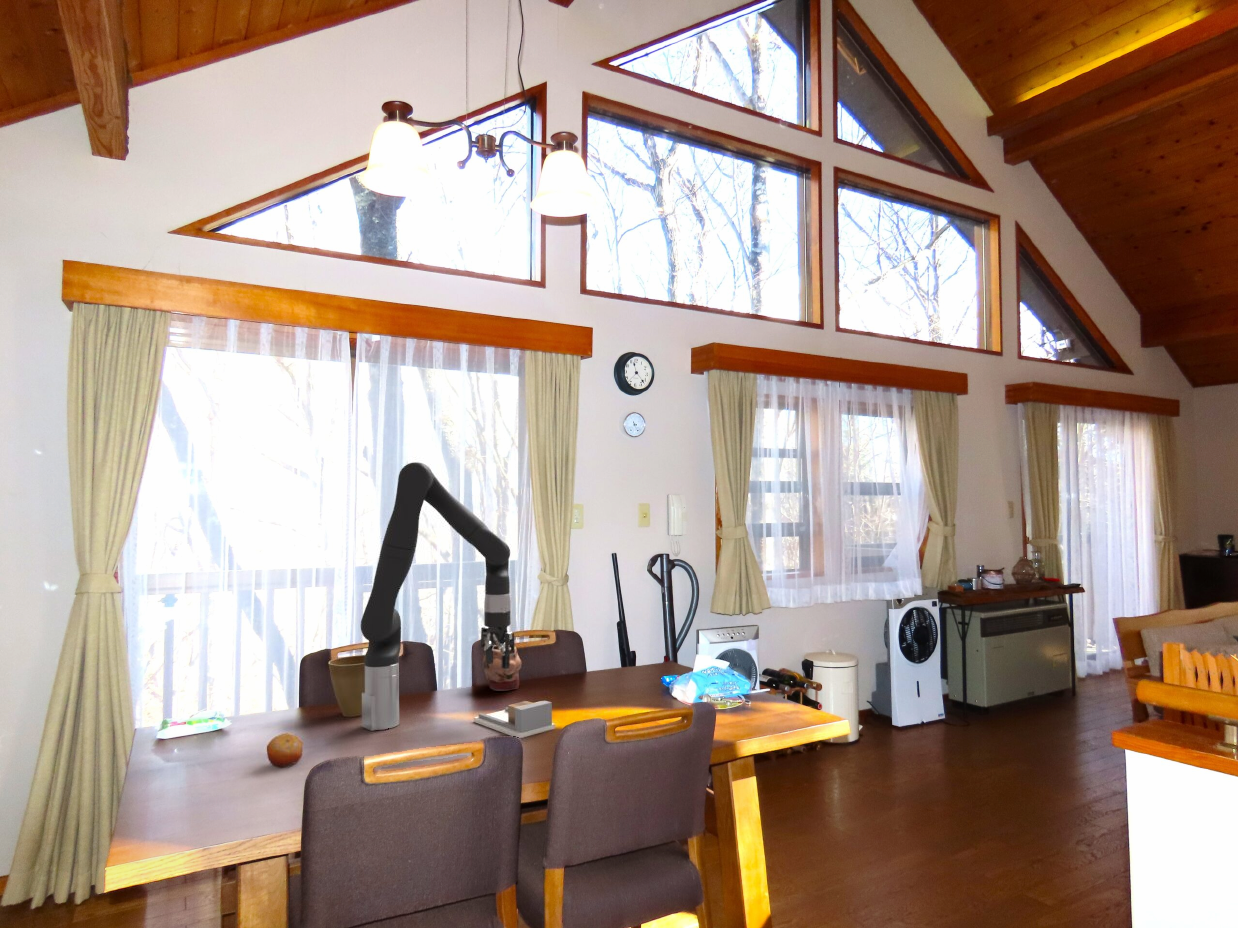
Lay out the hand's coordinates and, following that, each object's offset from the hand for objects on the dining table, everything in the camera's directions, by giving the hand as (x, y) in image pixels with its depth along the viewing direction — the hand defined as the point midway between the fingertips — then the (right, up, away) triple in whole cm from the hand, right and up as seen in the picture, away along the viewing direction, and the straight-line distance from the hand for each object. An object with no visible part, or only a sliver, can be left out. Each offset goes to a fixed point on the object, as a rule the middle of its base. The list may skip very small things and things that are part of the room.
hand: (497, 665), depth 219 cm
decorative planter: (-4, -17, +36) cm, 40 cm away
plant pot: (-44, -17, +8) cm, 48 cm away
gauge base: (+6, -15, -7) cm, 17 cm away
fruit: (-46, -15, -36) cm, 60 cm away
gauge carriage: (+9, -13, -11) cm, 19 cm away
